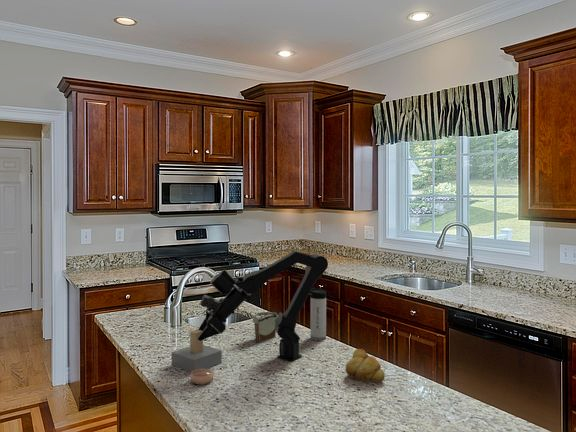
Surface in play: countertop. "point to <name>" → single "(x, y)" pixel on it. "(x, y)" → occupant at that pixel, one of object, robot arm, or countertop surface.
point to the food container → (264, 326)
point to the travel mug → (318, 314)
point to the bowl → (201, 376)
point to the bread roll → (364, 367)
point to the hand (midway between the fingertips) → (198, 335)
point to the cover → (196, 355)
